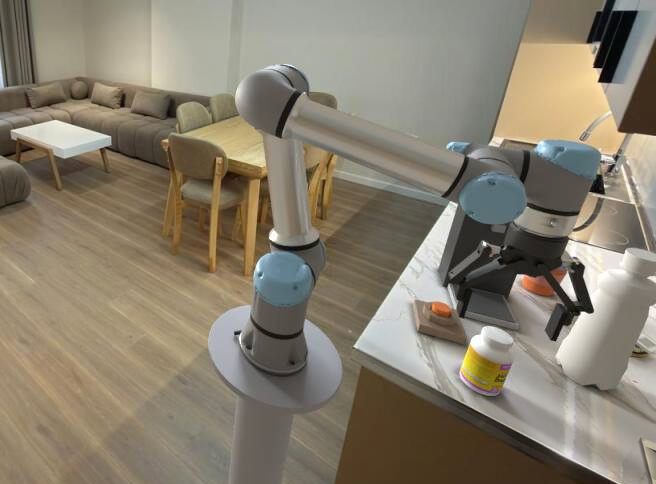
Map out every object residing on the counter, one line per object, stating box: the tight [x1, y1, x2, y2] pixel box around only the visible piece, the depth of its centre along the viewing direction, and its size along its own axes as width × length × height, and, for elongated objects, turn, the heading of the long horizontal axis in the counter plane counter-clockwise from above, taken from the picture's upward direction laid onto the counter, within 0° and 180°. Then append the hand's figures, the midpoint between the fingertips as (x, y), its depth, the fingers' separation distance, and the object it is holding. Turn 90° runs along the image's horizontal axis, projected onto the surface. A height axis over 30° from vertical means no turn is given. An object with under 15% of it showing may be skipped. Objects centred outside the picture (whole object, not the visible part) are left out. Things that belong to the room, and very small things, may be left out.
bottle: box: [555, 247, 656, 391], centre depth 77 cm, size 9×9×30 cm
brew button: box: [431, 301, 452, 317], centre depth 95 cm, size 4×4×2 cm
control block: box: [412, 298, 467, 345], centre depth 96 cm, size 9×10×4 cm
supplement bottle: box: [459, 325, 515, 397], centre depth 79 cm, size 7×7×13 cm
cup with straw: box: [521, 249, 572, 297], centre depth 105 cm, size 9×9×18 cm
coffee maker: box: [437, 204, 520, 331], centre depth 101 cm, size 14×20×26 cm
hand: (503, 324), depth 76 cm, fingers open, 13 cm apart
